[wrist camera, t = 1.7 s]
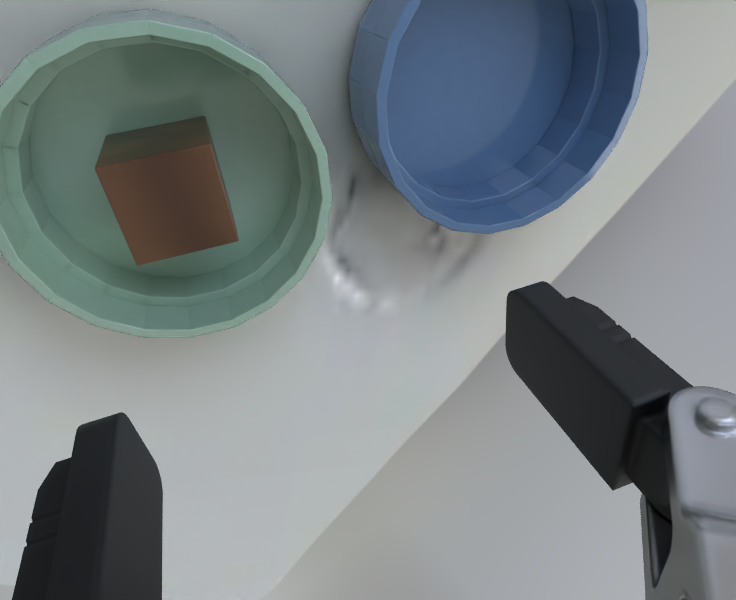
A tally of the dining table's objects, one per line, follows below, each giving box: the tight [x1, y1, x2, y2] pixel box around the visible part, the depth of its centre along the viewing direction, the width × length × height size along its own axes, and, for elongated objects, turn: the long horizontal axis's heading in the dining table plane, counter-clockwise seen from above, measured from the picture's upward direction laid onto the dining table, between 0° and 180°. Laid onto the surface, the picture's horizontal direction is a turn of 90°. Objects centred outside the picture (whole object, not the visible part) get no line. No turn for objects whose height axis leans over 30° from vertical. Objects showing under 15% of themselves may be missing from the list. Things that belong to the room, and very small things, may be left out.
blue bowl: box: [349, 0, 648, 234], centre depth 27 cm, size 14×14×5 cm
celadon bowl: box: [0, 9, 332, 338], centre depth 24 cm, size 14×14×5 cm
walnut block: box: [95, 116, 239, 266], centre depth 24 cm, size 5×5×5 cm
